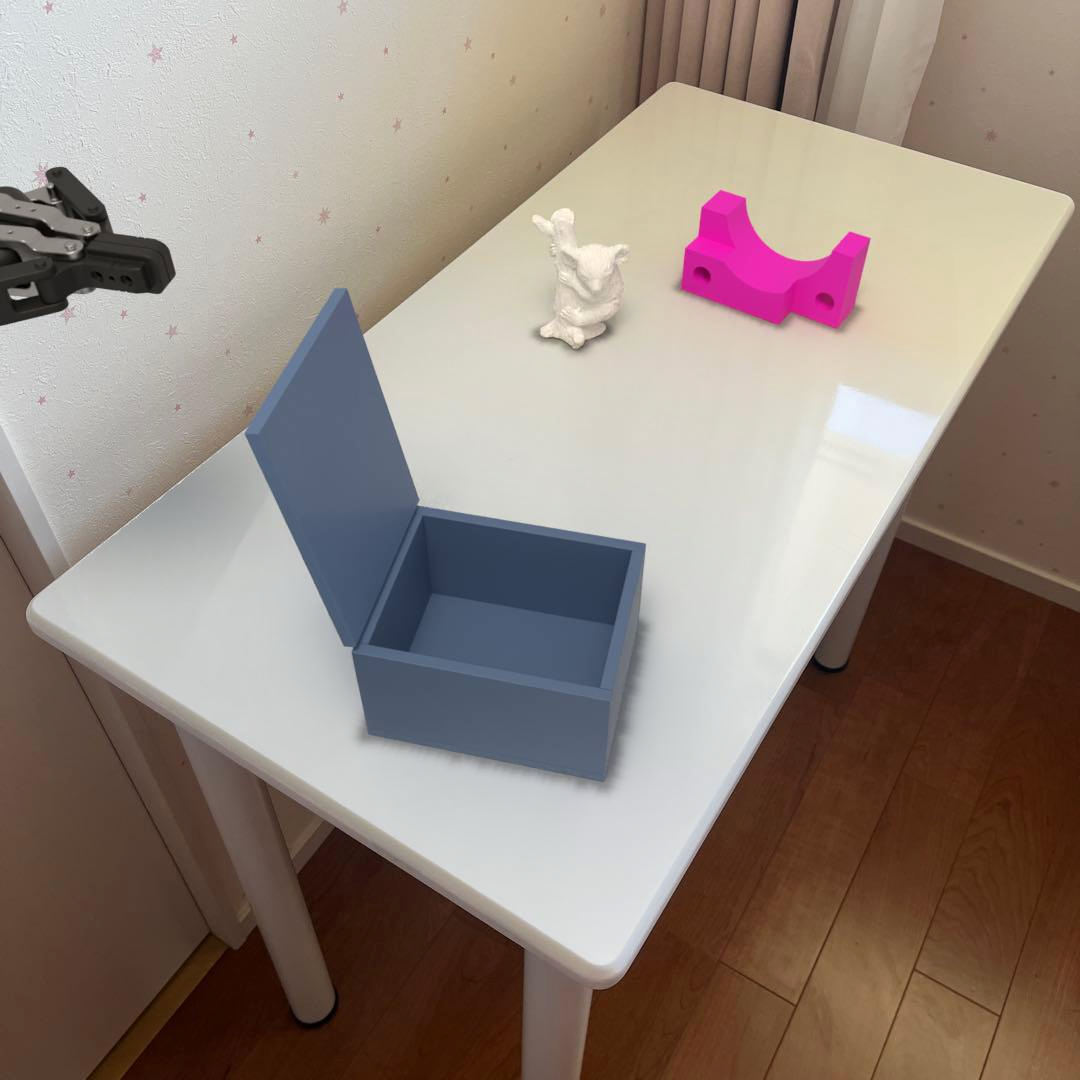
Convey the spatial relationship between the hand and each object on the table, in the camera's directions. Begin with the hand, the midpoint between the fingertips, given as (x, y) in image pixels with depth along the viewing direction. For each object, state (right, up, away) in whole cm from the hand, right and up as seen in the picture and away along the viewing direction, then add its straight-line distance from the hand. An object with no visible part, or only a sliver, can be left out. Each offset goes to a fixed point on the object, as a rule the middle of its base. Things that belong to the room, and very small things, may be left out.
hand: (165, 269), depth 56 cm
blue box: (+17, -23, +19) cm, 34 cm away
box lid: (+8, -10, +8) cm, 15 cm away
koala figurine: (+22, +5, +46) cm, 51 cm away
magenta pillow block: (+40, +9, +49) cm, 64 cm away
